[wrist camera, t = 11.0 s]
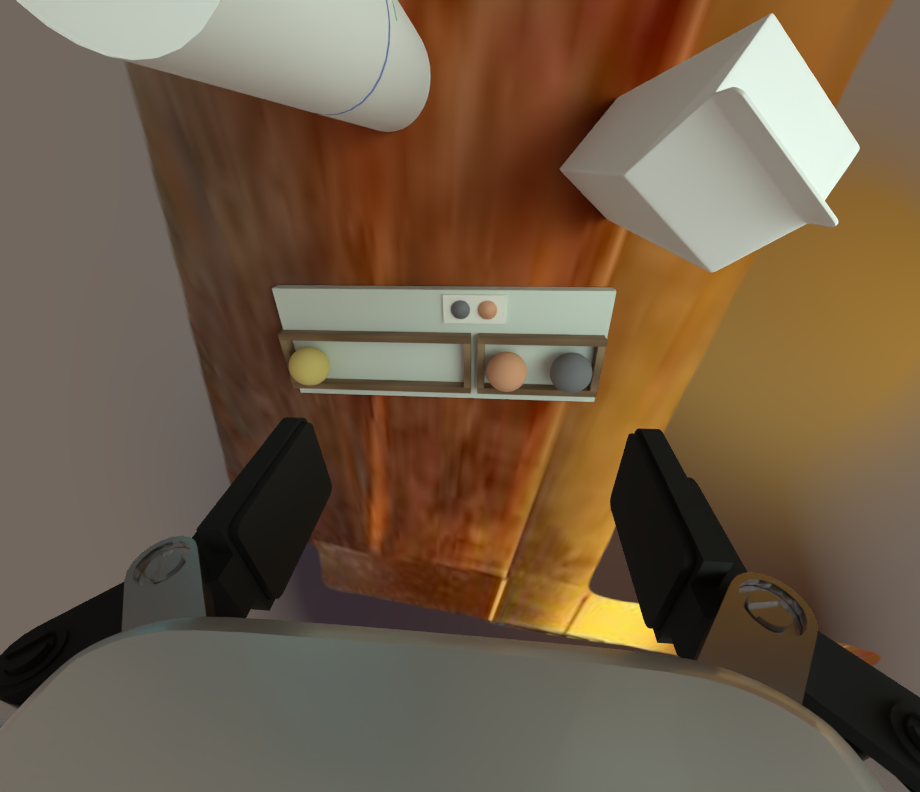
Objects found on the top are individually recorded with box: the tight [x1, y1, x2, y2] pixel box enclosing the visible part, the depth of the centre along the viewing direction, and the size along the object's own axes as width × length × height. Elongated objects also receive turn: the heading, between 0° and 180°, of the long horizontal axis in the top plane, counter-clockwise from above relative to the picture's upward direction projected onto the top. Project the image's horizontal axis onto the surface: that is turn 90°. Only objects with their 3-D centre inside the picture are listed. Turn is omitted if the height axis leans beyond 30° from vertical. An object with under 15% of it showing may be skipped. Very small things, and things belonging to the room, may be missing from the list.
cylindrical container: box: [16, 0, 431, 132], centre depth 18 cm, size 7×7×25 cm
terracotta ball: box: [487, 352, 527, 392], centre depth 37 cm, size 4×4×4 cm
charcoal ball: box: [550, 352, 592, 393], centre depth 37 cm, size 4×4×4 cm
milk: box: [560, 13, 860, 272], centre depth 21 cm, size 6×6×22 cm
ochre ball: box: [289, 347, 330, 386], centre depth 39 cm, size 4×4×4 cm
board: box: [272, 285, 616, 402], centre depth 39 cm, size 12×33×2 cm, turn 91°
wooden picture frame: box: [278, 330, 471, 394], centre depth 40 cm, size 6×20×1 cm, turn 91°
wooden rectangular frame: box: [477, 333, 607, 397], centre depth 38 cm, size 6×12×1 cm, turn 91°
